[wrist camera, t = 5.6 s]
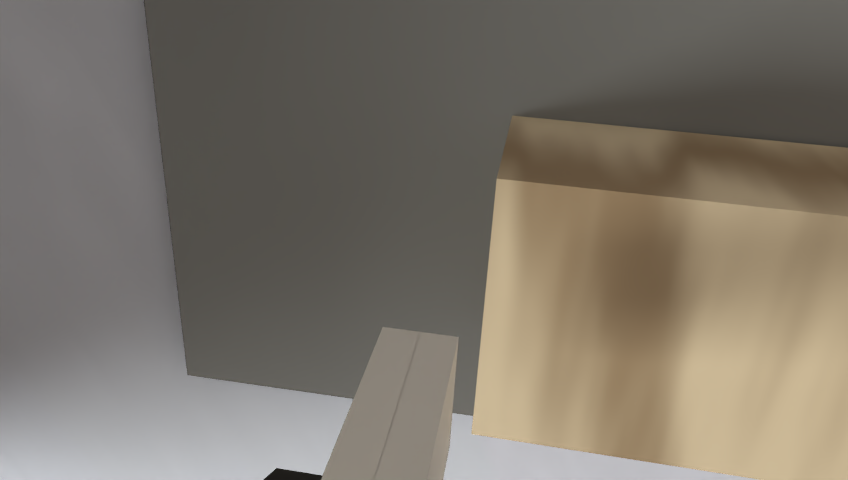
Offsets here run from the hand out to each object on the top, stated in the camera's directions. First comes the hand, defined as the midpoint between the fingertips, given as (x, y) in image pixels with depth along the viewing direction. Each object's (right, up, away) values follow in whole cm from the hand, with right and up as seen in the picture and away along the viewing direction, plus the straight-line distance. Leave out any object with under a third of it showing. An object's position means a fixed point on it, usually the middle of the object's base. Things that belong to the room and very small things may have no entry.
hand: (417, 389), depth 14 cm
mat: (+4, +4, +7) cm, 9 cm away
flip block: (+2, +2, +5) cm, 6 cm away
